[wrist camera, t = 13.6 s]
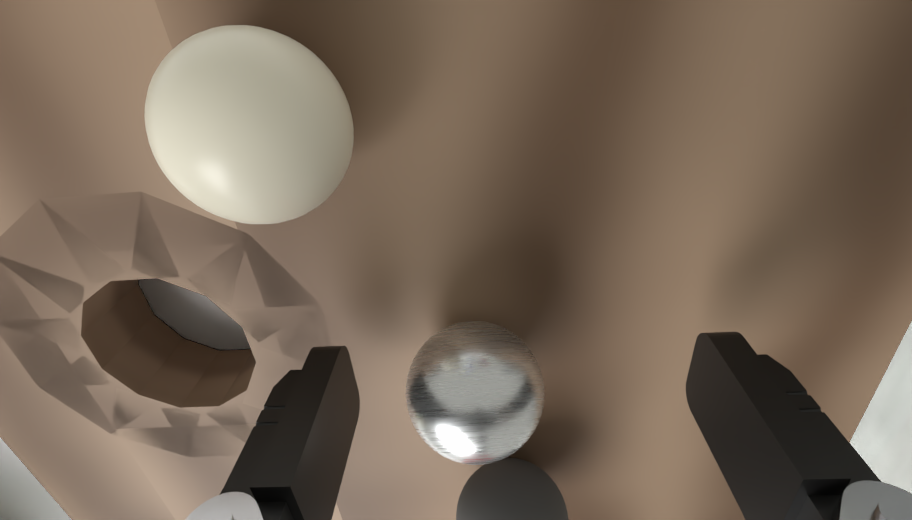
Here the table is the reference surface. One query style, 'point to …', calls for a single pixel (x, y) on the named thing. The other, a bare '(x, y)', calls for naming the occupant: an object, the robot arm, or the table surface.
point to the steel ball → (475, 392)
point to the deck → (458, 237)
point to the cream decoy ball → (249, 124)
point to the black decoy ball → (511, 493)
